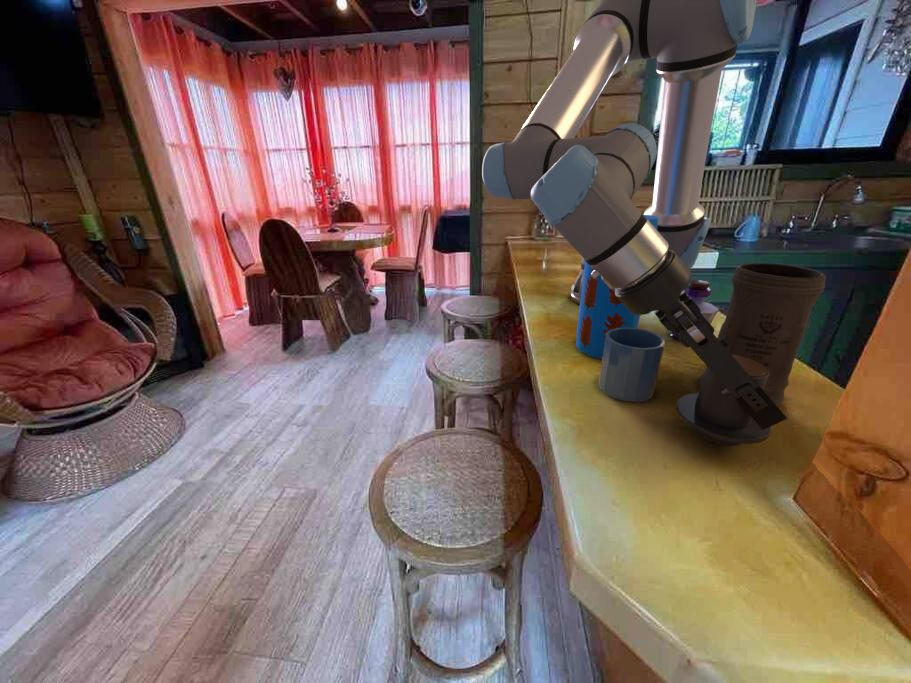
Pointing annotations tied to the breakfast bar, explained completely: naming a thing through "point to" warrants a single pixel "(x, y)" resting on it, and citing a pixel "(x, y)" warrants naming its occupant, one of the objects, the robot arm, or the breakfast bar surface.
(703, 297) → the potion bottle
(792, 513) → the breakfast bar surface
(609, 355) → the cup
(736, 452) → the breakfast bar surface
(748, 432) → the dripper
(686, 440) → the breakfast bar surface
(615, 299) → the thermos
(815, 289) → the beer stein
